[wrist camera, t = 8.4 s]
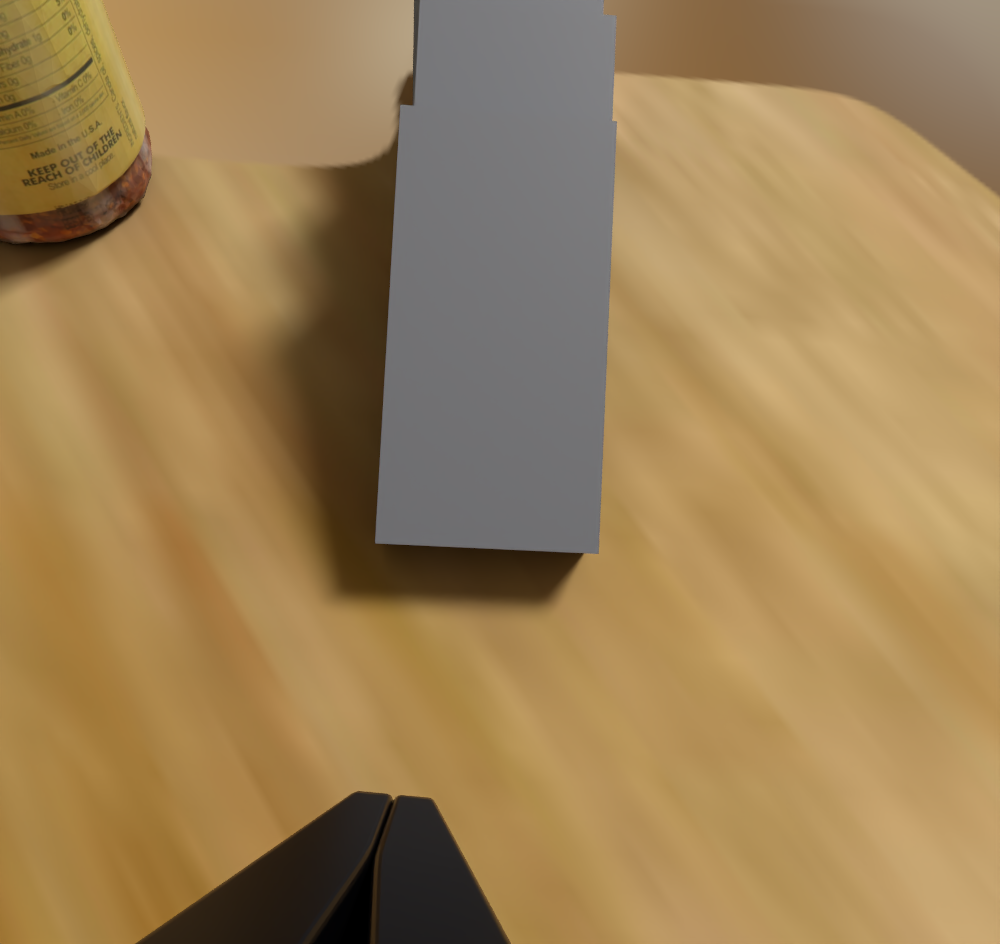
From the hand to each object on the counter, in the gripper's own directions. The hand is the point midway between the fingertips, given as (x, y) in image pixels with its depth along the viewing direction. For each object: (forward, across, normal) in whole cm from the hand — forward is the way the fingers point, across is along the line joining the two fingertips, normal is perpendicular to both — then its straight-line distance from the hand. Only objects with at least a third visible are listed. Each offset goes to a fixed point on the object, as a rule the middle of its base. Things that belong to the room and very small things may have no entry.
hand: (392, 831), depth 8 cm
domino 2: (+10, +1, -1) cm, 10 cm away
